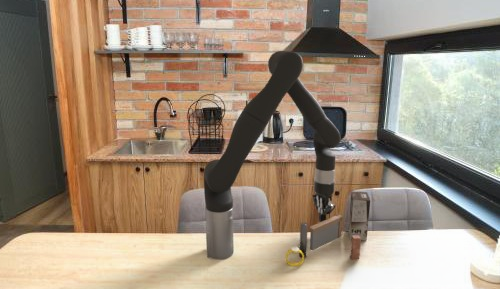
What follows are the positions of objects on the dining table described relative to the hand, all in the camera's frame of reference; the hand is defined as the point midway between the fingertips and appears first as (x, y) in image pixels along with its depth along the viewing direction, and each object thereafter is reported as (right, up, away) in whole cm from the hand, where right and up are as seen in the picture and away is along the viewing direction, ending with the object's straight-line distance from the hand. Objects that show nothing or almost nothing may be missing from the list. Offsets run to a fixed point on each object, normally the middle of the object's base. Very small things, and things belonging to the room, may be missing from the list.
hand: (322, 221), depth 133 cm
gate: (-1, -6, -9) cm, 10 cm away
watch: (-13, -10, -19) cm, 25 cm away
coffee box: (+14, -5, +1) cm, 15 cm away
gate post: (-10, -9, -14) cm, 19 cm away
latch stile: (+8, -9, -16) cm, 19 cm away
